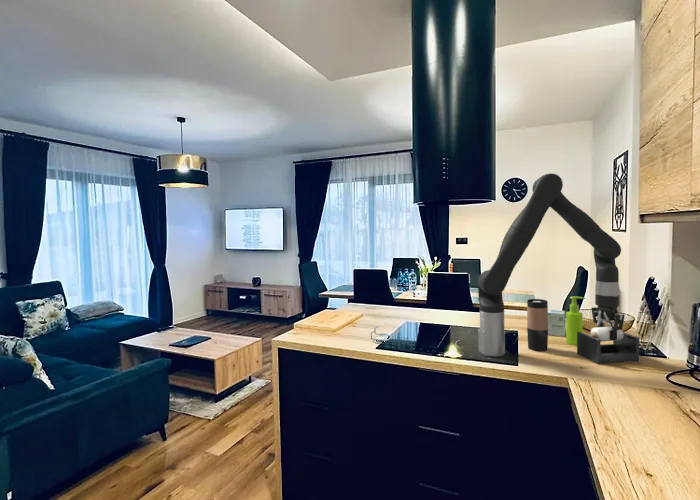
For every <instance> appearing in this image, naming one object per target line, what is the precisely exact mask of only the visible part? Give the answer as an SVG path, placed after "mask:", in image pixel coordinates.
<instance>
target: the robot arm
mask: <svg viewBox="0 0 700 500" xmlns="http://www.w3.org/2000/svg"><path fill="white" fill-rule="evenodd" d="M562 179H563V178H561V176H559V175H558V174H556V173H547V174H546V173H545V174H543V175H542V176H540V177H539V178H537V179H536V180H535V181H534V183H533V184H532V189H531V190H532V193H531V196H530V198H529V200H528V202H527V203H526V205H525V207H523V209H522V210H521V211H520V212H519V214H517V216H516V217H515V218H514V221H513V222H512V223H511V225H509V226H510V227H509V228H508V229H507V232H506V233H505V234H504V237H503V239H502V241H501V245H500V248H499V253H498V255H497V258H496V260H495V261H494V262H493V264H492V266H491V267H490V269H488V270H485V271H483V272H482V273H480V275H479V276H478V279H477V289H478V290H477V295H478V304H479V327H478V329H477V339H478V340H477V341H478V345H477V346H478V349H477V350H478V352H479V353H480V354H482V355H483V356H487V357H502V356H504V355H505V354H506V351H505V350H506V346H505V345H506V343H505V342H506V340H505V337H506V334H505V304H504V300H503V292H504V290H505V289H506V286H507V284H508V282H509V279H510V277H511V275H512V273H513V272H514V269H515V268H516V265H517V264H518V262H519V261H520V259H521V258H522V256H523V255H524V253H525V252H526V250H527V249H528V247H529V245H530V244H531V242H532V240H533V238H534V236H535V234H536V233H537V231H538V229H539V227H540V225H541V223H542V221H543V219H544V217H545V215H546V213H547V212H548V209H551V210H553V211H554V212H555V213H556V214H558V215H559V217H561V219H563V221H565V222H566V223H567V224H568V225H569V226H570V228H571V229H572V230H573V231H574V232H576V234H577V235H578V236H579V237H580V238H581V239H582V240H583V241H584V242H587V243H588V244H589V245H590V246H591V247H592V248H593V258H594V264H595V285H594V288H595V289H594V291H595V292H594V293H595V294H594V295H595V296H594V301H595V302H594V303H595V305H596V307H595V306H594V307H591V314H592V320H593V323H594V324H596V326H597V327H606V326H605V325H606V324H607V325H608V327H609V328H610V340H617V330H622V331H623V327H624V322H625V314H622V313H621V314H620V313H619V312H618V307H620V303H621V302H620V298H621V297H620V292H621V291H620V289H621V288H620V280H619V279H620V278H619V273H620V272H619V268H618V267H617V265H616V259H617V258H619V256H620V255H621V253H622V247H621V245H620V244H619V242H618V241H617V240H616V239H614V237H612V236H611V235H610V234H608V233H607V232H606V231H604V230H603V229H602V228H601V227H600V225H599V224H598V223H597V222H596V221H595V220H594V219H593V218H592V217H591V216H589V215H588V214H587V213H586V212H585V211H584V210H583V209H581V208H579V207H578V206H576V205H575V204H574V203H572V202H571V201H570V200H569V199H568V198H567V196H565V195H564V194H563V192H562V190H563V186H564V182H563V180H562ZM613 326H614V327H613Z"/></svg>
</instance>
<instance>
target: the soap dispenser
mask: <svg viewBox="0 0 700 500" xmlns="http://www.w3.org/2000/svg"><path fill="white" fill-rule="evenodd" d="M569 299H571V303H570V304H569V311H565V323H566V333H565V341H566V342H565V343H566V344H568V345H571V346H577V332H582V333H583V312H580V304H578V301H577V299H582V300H586V297H583V296H579V295H577V296H573V295H572V296H570V297H569Z"/></svg>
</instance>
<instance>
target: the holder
mask: <svg viewBox="0 0 700 500" xmlns="http://www.w3.org/2000/svg"><path fill="white" fill-rule="evenodd" d="M612 342H613V343H607V344H601V342H600V340H599V339H597V338H594V337H592V336H591V334H590V335H589V334H587V333H584V332H583V331H582V332H577V345H576V355H578V356H580V357H582V358H584V359H586V360H588V361H590V362H592V363H595V364H597V365H601V364H603V365H605V364H621V363H634V362H635V363H637V362H638V363H639V362H640V337H639V336H636V335H633V334H629V333H628V332H627V333H626V332H624V331H623V339H622V340H616V341H612Z"/></svg>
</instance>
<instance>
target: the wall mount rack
mask: <svg viewBox="0 0 700 500" xmlns="http://www.w3.org/2000/svg"><path fill="white" fill-rule="evenodd" d="M373 328H374V329H373V330H372V331H371V332H370V339H371V340H372V341H374V343H375V342H376V344H383V343H382V341H384V342H385V341H386V342H387V341H390V340H391V339H393V337H395V336H396V335H397V334H399V333H400V332H401V330H400V329H402V328H403V325H400V326H399V327H398V328H397V329H396V330H394V331H393V332H392V333H391V334H389V333H386V332H383V333H377V331H376V329H377V328H379V326H378V325H376V326H374V327H373ZM373 334H374V335H377V336H376V338H373ZM389 335H391V336H389ZM388 336H389V338H388ZM387 338H388V339H387ZM376 340H380V341H376ZM386 342H385V343H386Z"/></svg>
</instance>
